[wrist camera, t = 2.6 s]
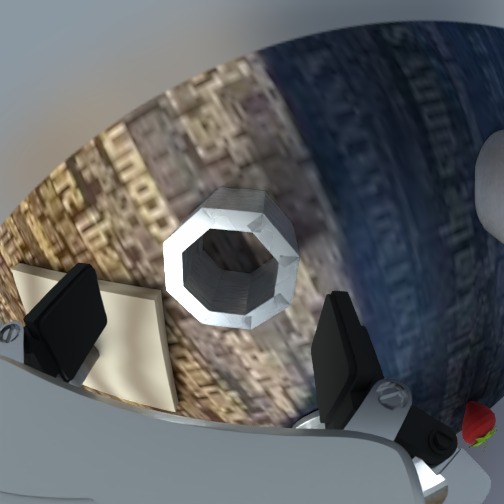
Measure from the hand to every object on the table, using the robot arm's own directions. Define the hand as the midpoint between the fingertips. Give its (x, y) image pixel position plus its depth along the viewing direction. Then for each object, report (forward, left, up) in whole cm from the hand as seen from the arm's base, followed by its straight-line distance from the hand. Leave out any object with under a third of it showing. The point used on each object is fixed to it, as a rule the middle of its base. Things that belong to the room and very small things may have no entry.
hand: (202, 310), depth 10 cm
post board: (+15, +14, -9) cm, 22 cm away
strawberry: (-37, +24, -9) cm, 45 cm away
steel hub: (0, +1, -9) cm, 9 cm away
